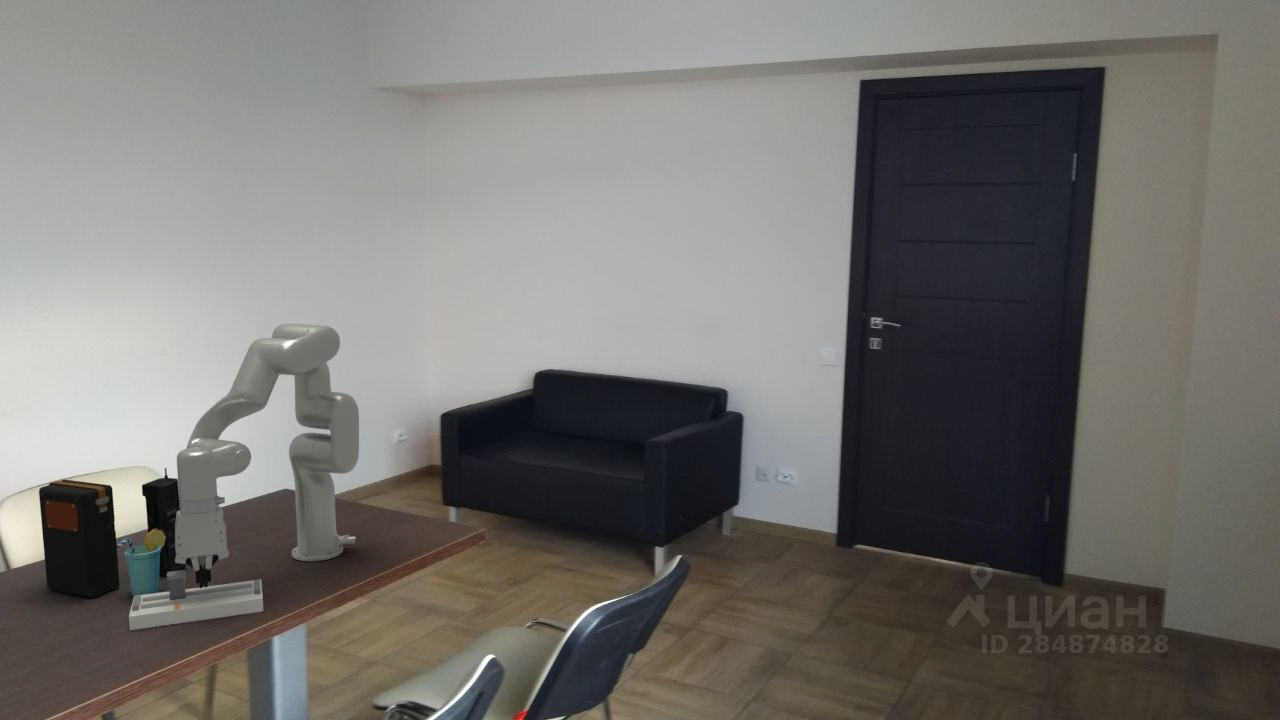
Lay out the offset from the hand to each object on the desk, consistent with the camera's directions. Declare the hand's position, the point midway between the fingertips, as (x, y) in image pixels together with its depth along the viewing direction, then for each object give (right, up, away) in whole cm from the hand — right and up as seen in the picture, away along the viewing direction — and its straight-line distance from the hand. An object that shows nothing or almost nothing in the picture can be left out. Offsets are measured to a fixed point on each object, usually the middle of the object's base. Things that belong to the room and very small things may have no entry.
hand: (203, 585), depth 209 cm
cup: (-18, -4, +8) cm, 20 cm away
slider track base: (-1, -6, 0) cm, 6 cm away
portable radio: (-19, -2, +23) cm, 30 cm away
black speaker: (-33, -4, +11) cm, 35 cm away
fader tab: (-5, -2, -2) cm, 6 cm away
